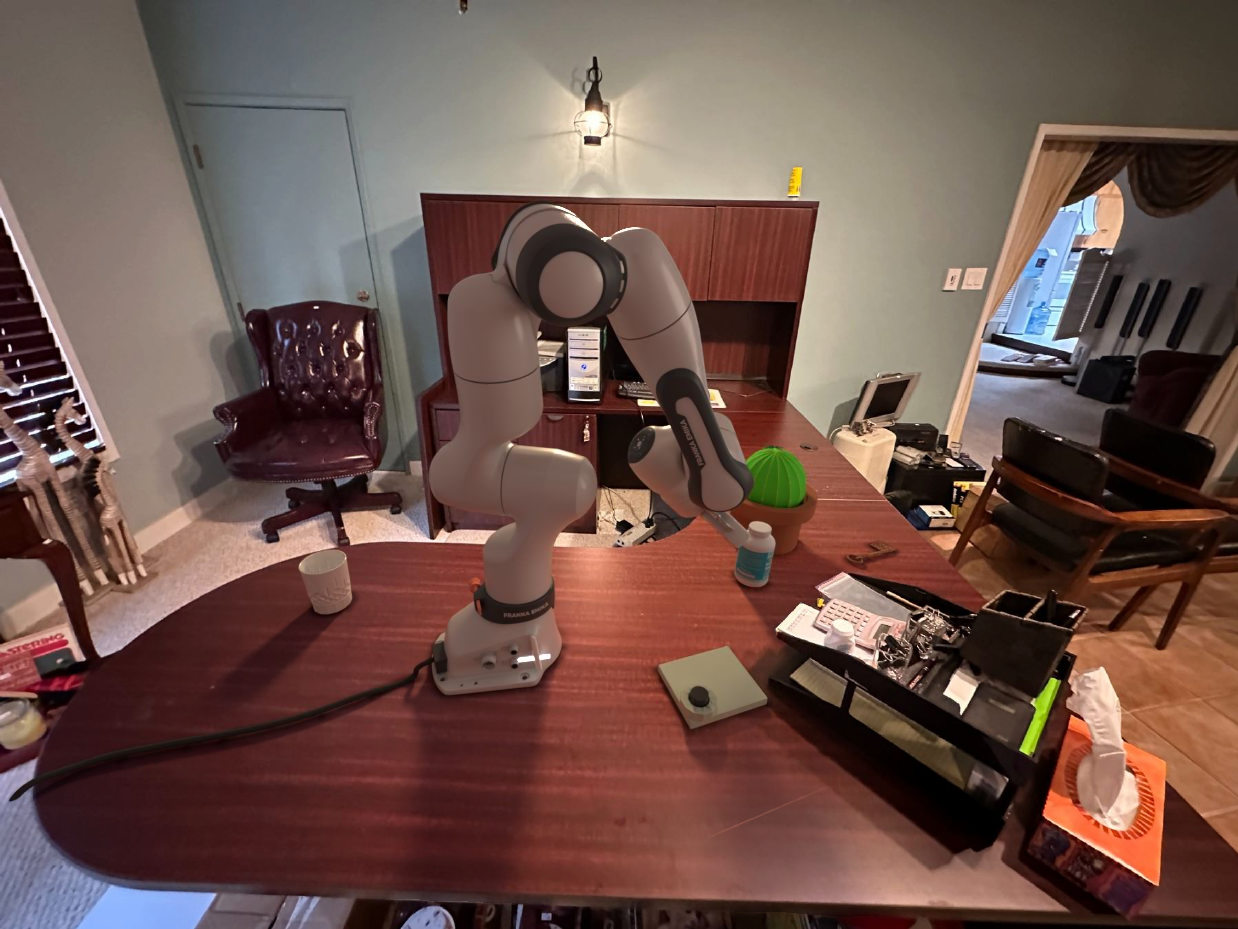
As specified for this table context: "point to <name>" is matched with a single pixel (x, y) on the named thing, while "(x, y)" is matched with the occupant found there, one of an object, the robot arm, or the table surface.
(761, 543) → the pill bottle
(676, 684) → the scale
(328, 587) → the white cup
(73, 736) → the table surface
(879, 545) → the key
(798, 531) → the potted cactus
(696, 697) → the tare button
